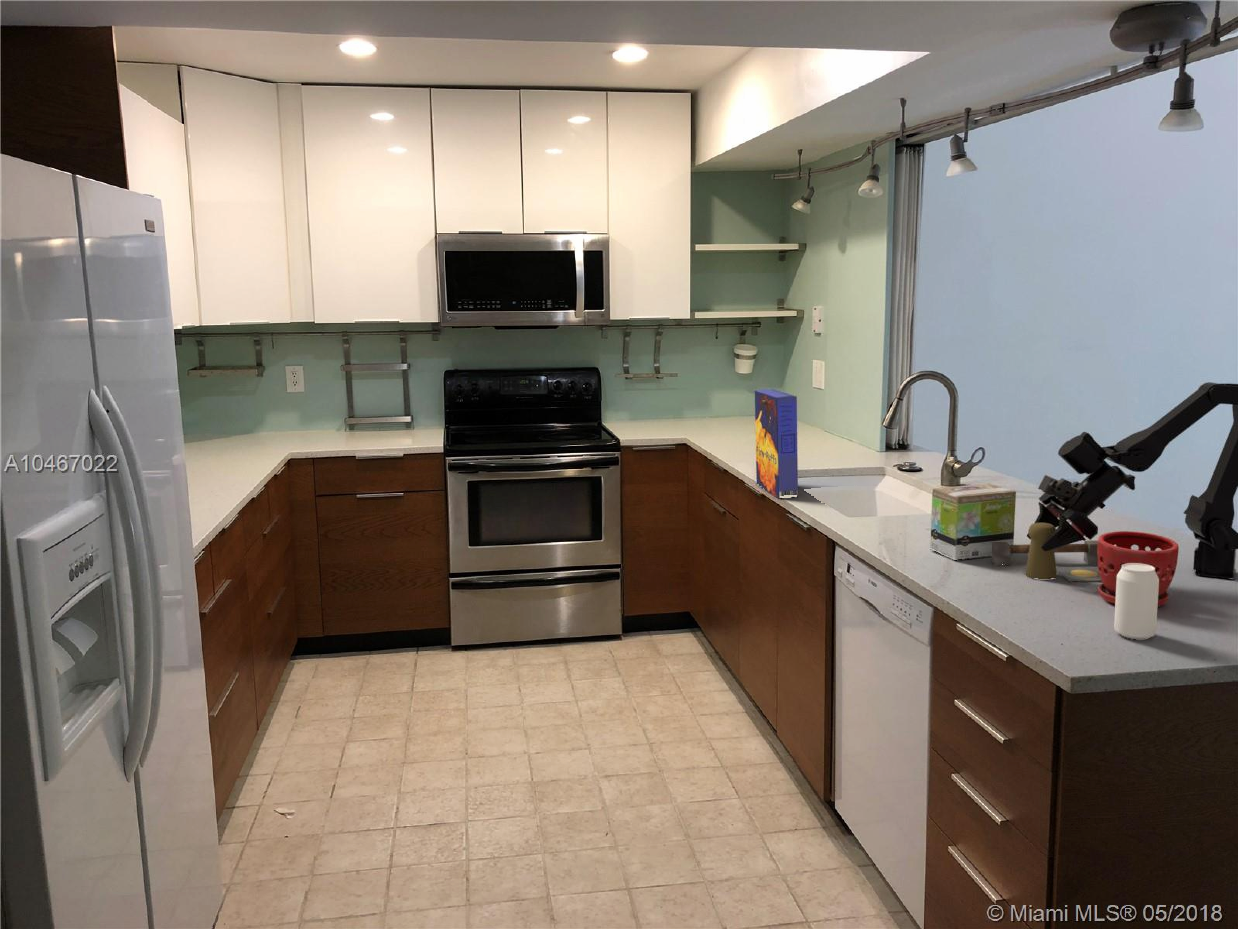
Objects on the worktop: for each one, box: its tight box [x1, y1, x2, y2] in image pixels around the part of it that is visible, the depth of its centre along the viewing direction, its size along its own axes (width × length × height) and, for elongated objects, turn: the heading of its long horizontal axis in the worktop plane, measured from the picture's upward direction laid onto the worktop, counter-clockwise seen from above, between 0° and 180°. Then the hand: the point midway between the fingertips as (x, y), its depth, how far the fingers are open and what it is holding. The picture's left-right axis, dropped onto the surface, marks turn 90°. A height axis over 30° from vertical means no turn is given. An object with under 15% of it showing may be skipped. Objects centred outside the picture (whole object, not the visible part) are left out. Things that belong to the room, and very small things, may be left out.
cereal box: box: [754, 388, 799, 500], centre depth 282 cm, size 22×6×30 cm, turn 8°
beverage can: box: [1113, 563, 1159, 641], centre depth 158 cm, size 6×6×12 cm
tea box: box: [929, 483, 1017, 560], centre depth 210 cm, size 15×10×15 cm
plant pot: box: [1097, 530, 1180, 608], centre depth 174 cm, size 13×13×12 cm
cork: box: [1024, 522, 1058, 579], centre depth 192 cm, size 6×6×11 cm
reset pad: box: [1056, 566, 1103, 583], centre depth 192 cm, size 9×9×1 cm
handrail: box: [991, 540, 1103, 566], centre depth 201 cm, size 22×3×4 cm, turn 83°
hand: (1035, 543), depth 192 cm, fingers open, 9 cm apart
